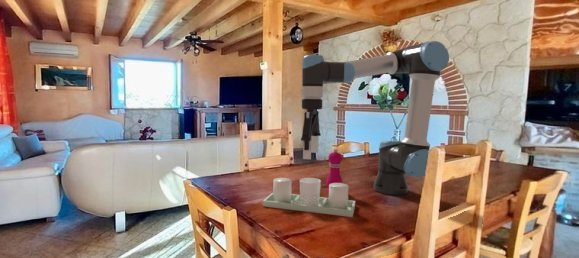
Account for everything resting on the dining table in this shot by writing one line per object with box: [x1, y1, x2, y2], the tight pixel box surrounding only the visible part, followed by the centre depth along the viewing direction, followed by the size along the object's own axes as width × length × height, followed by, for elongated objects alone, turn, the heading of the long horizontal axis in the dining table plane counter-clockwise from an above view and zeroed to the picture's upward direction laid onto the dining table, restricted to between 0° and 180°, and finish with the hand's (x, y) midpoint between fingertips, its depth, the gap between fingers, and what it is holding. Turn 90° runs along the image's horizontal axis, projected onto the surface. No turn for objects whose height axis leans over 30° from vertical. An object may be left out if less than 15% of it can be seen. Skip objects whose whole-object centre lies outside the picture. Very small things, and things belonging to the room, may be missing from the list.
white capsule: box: [272, 177, 293, 203], centre depth 121 cm, size 7×7×9 cm
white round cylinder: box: [328, 183, 349, 210], centre depth 115 cm, size 7×7×9 cm
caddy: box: [262, 192, 356, 218], centre depth 118 cm, size 33×12×3 cm, turn 74°
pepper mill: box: [325, 148, 344, 194], centre depth 136 cm, size 7×7×20 cm
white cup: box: [299, 177, 322, 206], centre depth 118 cm, size 8×8×10 cm
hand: (311, 155), depth 116 cm, fingers open, 13 cm apart
